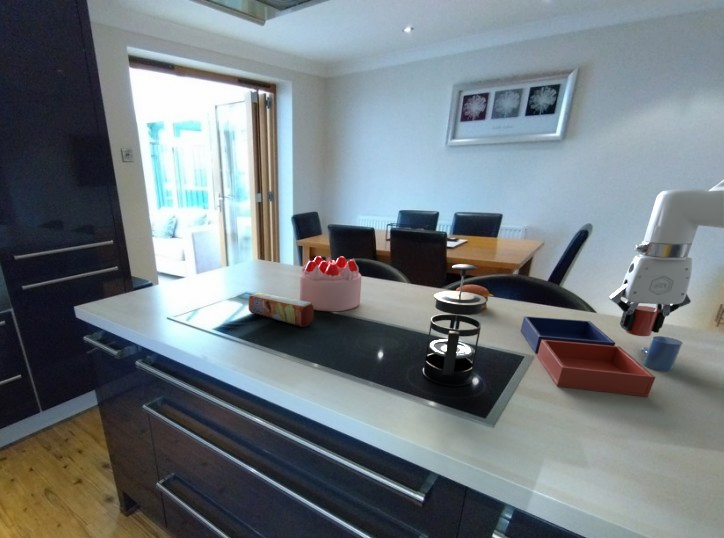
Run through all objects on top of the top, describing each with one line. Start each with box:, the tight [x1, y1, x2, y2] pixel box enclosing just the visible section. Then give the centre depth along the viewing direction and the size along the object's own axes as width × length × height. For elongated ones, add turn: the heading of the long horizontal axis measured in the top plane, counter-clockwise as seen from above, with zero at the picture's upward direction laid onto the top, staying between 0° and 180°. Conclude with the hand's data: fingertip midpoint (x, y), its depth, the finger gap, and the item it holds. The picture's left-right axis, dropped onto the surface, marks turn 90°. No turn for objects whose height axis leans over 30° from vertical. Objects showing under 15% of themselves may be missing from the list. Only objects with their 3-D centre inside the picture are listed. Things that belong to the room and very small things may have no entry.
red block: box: [625, 305, 659, 337], centre depth 91 cm, size 9×4×6 cm, turn 161°
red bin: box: [537, 340, 656, 398], centre depth 78 cm, size 14×14×4 cm
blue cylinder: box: [640, 335, 683, 372], centre depth 82 cm, size 9×4×6 cm, turn 161°
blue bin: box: [520, 315, 616, 354], centre depth 92 cm, size 14×14×4 cm
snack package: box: [248, 291, 315, 328], centre depth 113 cm, size 21×7×7 cm, turn 48°
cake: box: [299, 255, 362, 312], centre depth 125 cm, size 20×20×14 cm
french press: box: [422, 263, 487, 388], centre depth 75 cm, size 12×9×23 cm
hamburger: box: [455, 284, 495, 311], centre depth 120 cm, size 9×10×7 cm
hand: (639, 329), depth 90 cm, fingers closed on red block, 4 cm apart
